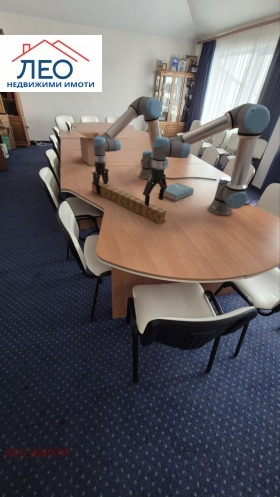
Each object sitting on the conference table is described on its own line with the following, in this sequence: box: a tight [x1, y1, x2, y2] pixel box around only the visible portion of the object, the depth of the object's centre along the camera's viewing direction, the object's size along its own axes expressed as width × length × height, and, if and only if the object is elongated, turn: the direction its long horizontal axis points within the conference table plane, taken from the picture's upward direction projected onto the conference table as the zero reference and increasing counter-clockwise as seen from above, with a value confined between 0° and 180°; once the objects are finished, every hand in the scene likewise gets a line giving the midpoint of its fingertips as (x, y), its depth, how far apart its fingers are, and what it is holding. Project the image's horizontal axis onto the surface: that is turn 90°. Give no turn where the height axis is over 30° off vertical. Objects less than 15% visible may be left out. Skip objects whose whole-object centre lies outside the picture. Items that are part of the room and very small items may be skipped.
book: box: [159, 182, 194, 202], centre depth 175 cm, size 23×16×5 cm
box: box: [70, 129, 107, 166], centre depth 229 cm, size 44×36×27 cm
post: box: [91, 180, 167, 224], centre depth 154 cm, size 67×5×8 cm, turn 48°
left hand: (101, 192), depth 169 cm, fingers closed on post, 5 cm apart
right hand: (153, 202), depth 137 cm, fingers open, 13 cm apart
